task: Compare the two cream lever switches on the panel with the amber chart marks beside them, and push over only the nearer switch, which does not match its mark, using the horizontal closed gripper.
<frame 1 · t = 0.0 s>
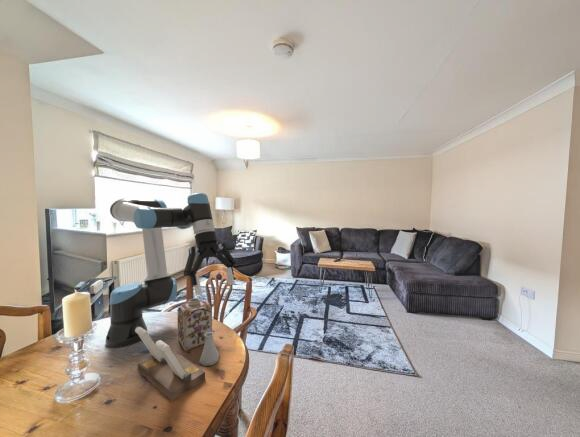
hand: (216, 289, 82), 28 cm above the table, tool tilted 20°, fingers open, 13 cm apart
switch panel: (170, 374, 78), on the table
switch 1: (149, 343, 79), point 10 cm above the table, hinge at -25.0°
switch 2: (170, 359, 71), point 10 cm above the table, hinge at -25.0°
flask: (209, 360, 85), on the table
decorative jar: (195, 340, 99), on the table
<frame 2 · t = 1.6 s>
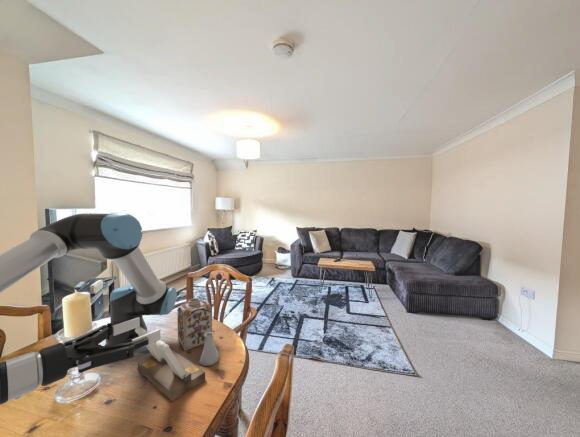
hand: (149, 327, 65), 22 cm above the table, tool horizontal, fingers open, 12 cm apart
nothing on the table moved.
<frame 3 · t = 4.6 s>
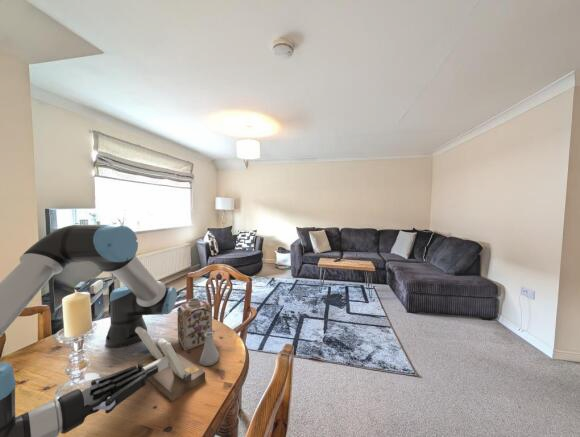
hand: (167, 361, 69), 10 cm above the table, tool horizontal, fingers closed
switch 2: (172, 358, 71), point 10 cm above the table, hinge at -21.9°, touching gripper
everything else where it was.
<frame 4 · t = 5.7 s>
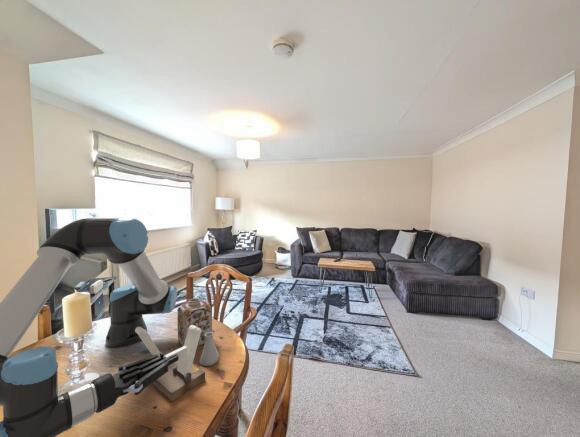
hand: (185, 350, 74), 10 cm above the table, tool horizontal, fingers closed
switch 2: (189, 348, 76), point 10 cm above the table, hinge at 20.4°, touching gripper
everything else where it was.
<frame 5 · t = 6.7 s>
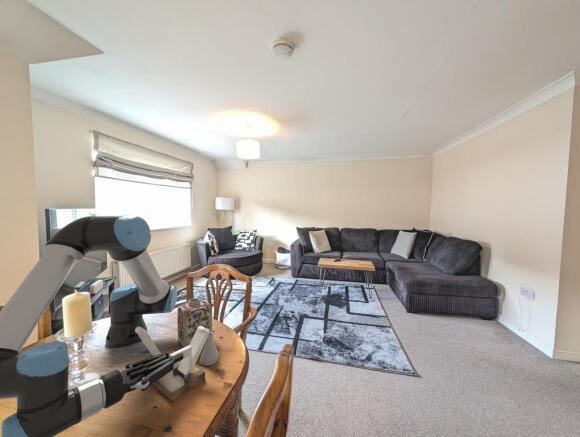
hand: (190, 350, 75), 10 cm above the table, tool horizontal, fingers closed
switch 2: (194, 349, 77), point 9 cm above the table, hinge at 34.8°, touching gripper
everything else where it was.
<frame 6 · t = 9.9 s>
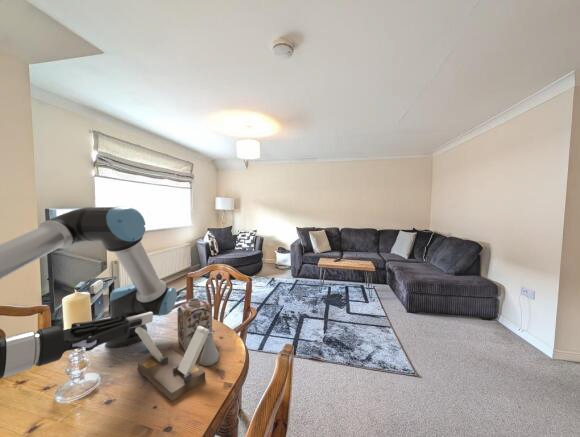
hand: (151, 316, 68), 24 cm above the table, tool horizontal, fingers closed
switch 2: (194, 349, 77), point 9 cm above the table, hinge at 33.8°
everything else where it was.
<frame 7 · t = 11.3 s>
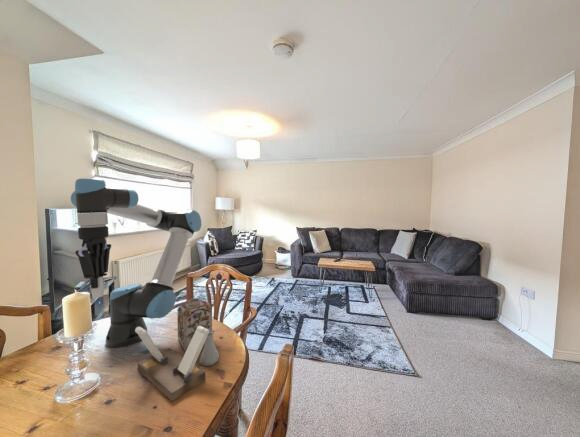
hand: (98, 296, 76), 28 cm above the table, tool pointing down, fingers closed
nothing on the table moved.
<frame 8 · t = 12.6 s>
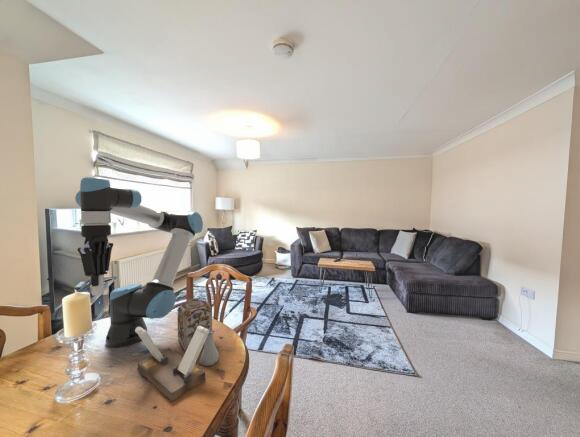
hand: (98, 294, 76), 28 cm above the table, tool pointing down, fingers closed
nothing on the table moved.
at the end: switch 2 at +34° (first picture: -25°); switch 1 at -25° (first picture: -25°) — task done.
